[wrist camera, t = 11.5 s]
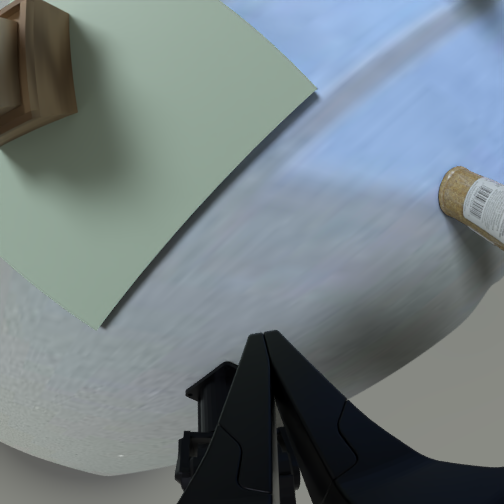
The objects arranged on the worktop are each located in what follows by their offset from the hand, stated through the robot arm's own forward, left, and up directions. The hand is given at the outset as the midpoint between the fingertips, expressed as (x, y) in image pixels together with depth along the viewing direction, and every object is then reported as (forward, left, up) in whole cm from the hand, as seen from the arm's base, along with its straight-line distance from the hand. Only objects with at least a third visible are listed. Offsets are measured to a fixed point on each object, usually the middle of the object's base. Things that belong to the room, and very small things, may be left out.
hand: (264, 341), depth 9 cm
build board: (-3, +13, -12) cm, 18 cm away
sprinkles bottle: (+14, -12, -12) cm, 22 cm away
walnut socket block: (-2, +17, -11) cm, 20 cm away
